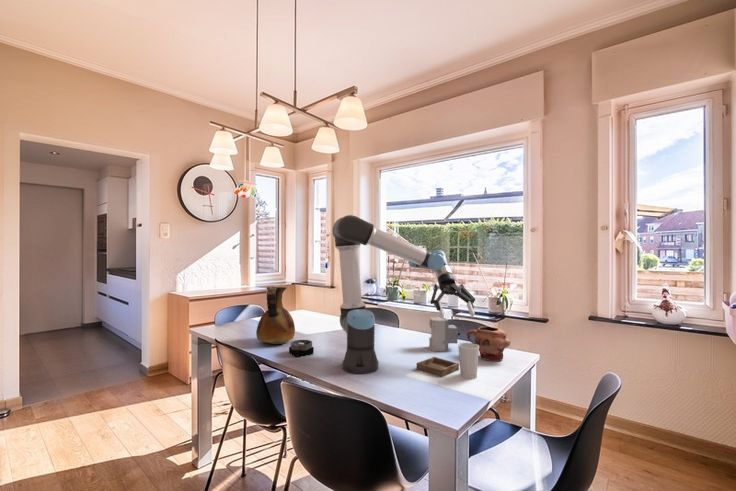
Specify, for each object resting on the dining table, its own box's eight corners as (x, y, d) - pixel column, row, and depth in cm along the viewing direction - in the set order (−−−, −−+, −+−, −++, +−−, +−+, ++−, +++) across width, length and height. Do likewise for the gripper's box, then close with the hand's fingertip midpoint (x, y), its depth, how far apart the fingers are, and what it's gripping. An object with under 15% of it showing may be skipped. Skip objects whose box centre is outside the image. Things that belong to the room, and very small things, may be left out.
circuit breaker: (460, 351, 171) (460, 320, 171) (431, 350, 171) (431, 320, 171) (457, 346, 178) (457, 317, 179) (429, 346, 179) (429, 317, 179)
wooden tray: (441, 377, 136) (441, 370, 136) (416, 369, 145) (416, 363, 145) (458, 369, 144) (458, 363, 144) (434, 362, 153) (434, 356, 153)
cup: (454, 373, 140) (454, 343, 140) (470, 371, 142) (470, 342, 143) (466, 380, 132) (466, 349, 132) (483, 378, 135) (483, 347, 135)
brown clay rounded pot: (461, 357, 161) (462, 327, 161) (470, 351, 171) (470, 322, 171) (507, 365, 150) (507, 333, 150) (513, 358, 160) (513, 328, 160)
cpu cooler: (306, 338, 172) (316, 342, 164) (306, 349, 172) (316, 354, 164) (286, 341, 166) (296, 346, 158) (286, 353, 166) (296, 358, 158)
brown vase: (297, 337, 195) (297, 284, 195) (291, 347, 175) (292, 288, 175) (261, 338, 194) (262, 284, 194) (252, 348, 174) (252, 288, 174)
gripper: (467, 282, 168) (482, 320, 153) (417, 283, 164) (427, 321, 149) (472, 272, 162) (488, 310, 147) (421, 272, 159) (431, 311, 144)
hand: (458, 315), depth 148 cm, fingers open, 13 cm apart
